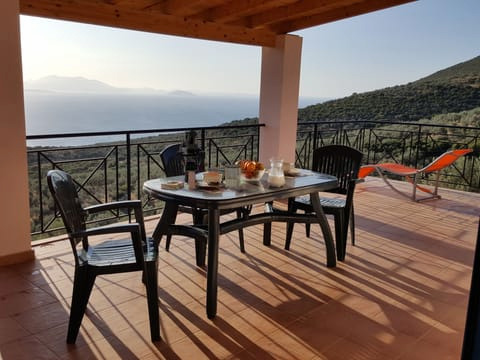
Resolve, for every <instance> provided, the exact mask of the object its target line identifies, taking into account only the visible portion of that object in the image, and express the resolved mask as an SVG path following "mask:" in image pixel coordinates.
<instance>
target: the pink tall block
mask: <svg viewBox="0 0 480 360" xmlns="http://www.w3.org/2000/svg"><path fill="white" fill-rule="evenodd" d="M187 184H188V189H189V190H194V189H196V182H195V172H188V182H187Z"/></svg>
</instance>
